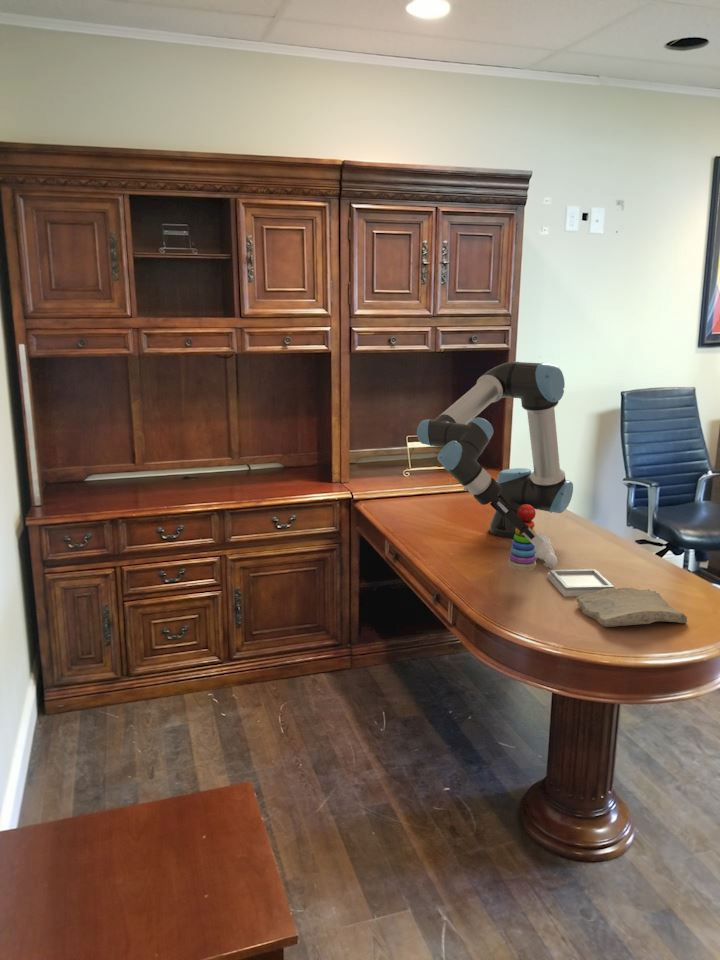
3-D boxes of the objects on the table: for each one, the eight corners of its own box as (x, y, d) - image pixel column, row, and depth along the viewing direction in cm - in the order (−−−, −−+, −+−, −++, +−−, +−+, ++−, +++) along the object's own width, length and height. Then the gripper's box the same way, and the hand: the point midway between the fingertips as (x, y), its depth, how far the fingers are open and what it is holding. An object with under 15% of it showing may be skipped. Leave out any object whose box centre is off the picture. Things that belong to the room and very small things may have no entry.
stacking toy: (506, 569, 212) (509, 506, 207) (509, 560, 219) (512, 499, 215) (534, 572, 210) (538, 509, 205) (536, 563, 217) (540, 501, 213)
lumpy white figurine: (547, 531, 239) (565, 546, 228) (544, 555, 242) (562, 571, 231) (529, 532, 238) (546, 547, 227) (526, 557, 241) (543, 573, 230)
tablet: (695, 633, 188) (653, 596, 207) (699, 607, 186) (656, 572, 205) (606, 643, 185) (571, 604, 203) (609, 616, 182) (573, 580, 201)
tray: (547, 577, 223) (548, 569, 223) (595, 576, 224) (596, 568, 224) (564, 596, 209) (564, 588, 208) (615, 595, 210) (616, 587, 209)
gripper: (465, 487, 217) (517, 539, 222) (480, 505, 199) (536, 560, 204) (484, 469, 216) (535, 521, 221) (500, 485, 198) (556, 542, 203)
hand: (535, 540), depth 213 cm, fingers closed on stacking toy, 6 cm apart
